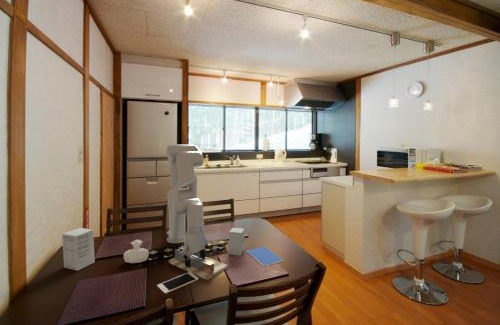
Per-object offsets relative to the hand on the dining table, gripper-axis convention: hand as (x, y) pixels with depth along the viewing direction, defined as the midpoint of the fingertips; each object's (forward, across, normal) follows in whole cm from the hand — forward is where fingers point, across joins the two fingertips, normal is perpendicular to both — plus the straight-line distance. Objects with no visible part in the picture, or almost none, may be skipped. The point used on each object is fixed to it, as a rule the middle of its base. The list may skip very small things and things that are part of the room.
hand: (195, 262), depth 123 cm
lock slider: (+2, -7, -8) cm, 11 cm away
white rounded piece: (+3, +12, -30) cm, 32 cm away
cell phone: (+4, +13, +3) cm, 13 cm away
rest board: (+3, -3, -1) cm, 4 cm away
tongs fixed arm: (+2, 0, -1) cm, 2 cm away
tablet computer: (+4, -31, +20) cm, 37 cm away
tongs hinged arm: (+1, -1, 0) cm, 2 cm away
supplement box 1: (+3, +31, -48) cm, 57 cm away
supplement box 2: (+3, -26, +5) cm, 27 cm away
